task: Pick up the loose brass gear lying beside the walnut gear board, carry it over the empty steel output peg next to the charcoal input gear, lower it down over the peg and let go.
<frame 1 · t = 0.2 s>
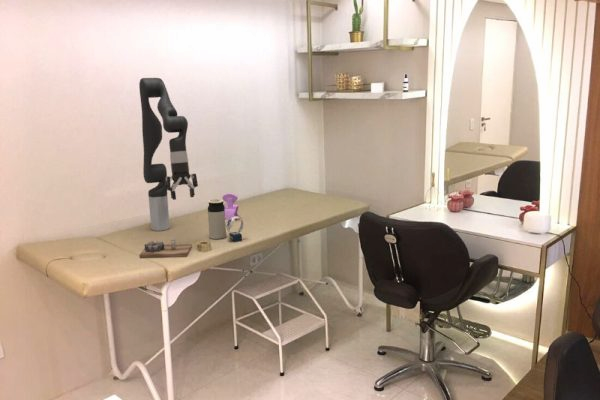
hand: (183, 198, 236), 22 cm above the table, tool pointing down, fingers open, 8 cm apart
toy chair: (231, 219, 288), on the table
watch: (235, 240, 250), on the table
brass gear: (204, 249, 237), on the table
gear board: (166, 252, 233), on the table
travel mug: (217, 237, 256), on the table
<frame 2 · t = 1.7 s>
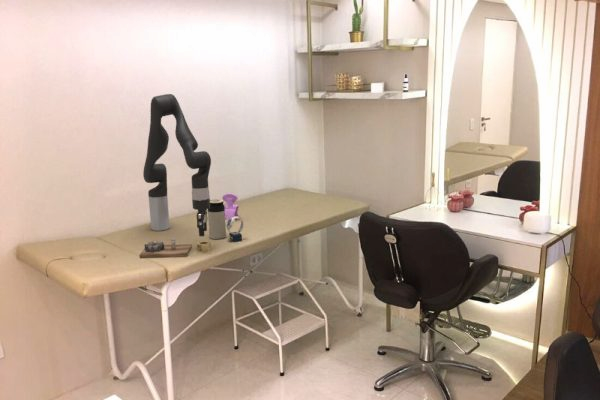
hand: (203, 233, 235), 7 cm above the table, tool pointing down, fingers open, 8 cm apart
nothing on the table moved.
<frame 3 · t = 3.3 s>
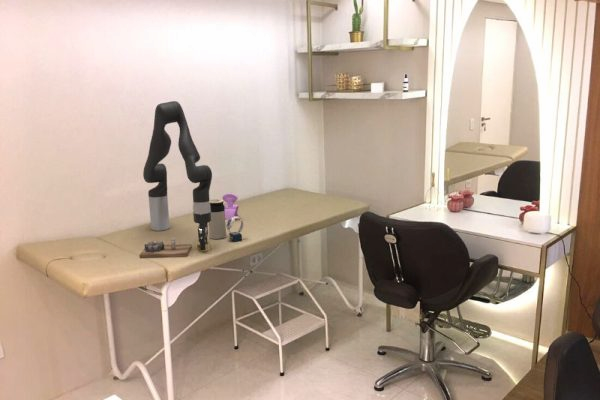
hand: (204, 247, 237), 1 cm above the table, tool pointing down, fingers closed on brass gear, 6 cm apart
brass gear: (204, 249, 237), on the table, touching gripper
everything else where it was.
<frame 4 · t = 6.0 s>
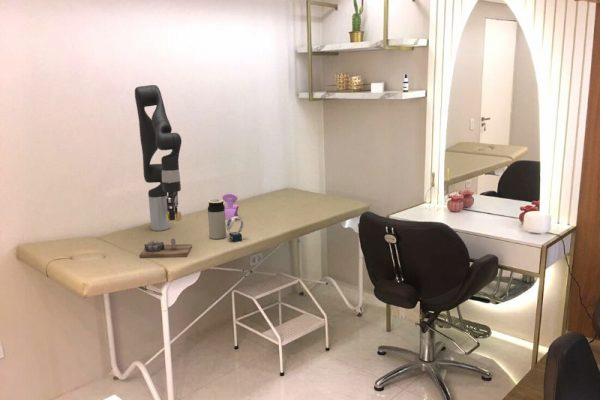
hand: (173, 217, 230), 15 cm above the table, tool pointing down, fingers closed on brass gear, 6 cm apart
brass gear: (173, 219, 231), point 15 cm above the table, touching gripper
everything else where it was.
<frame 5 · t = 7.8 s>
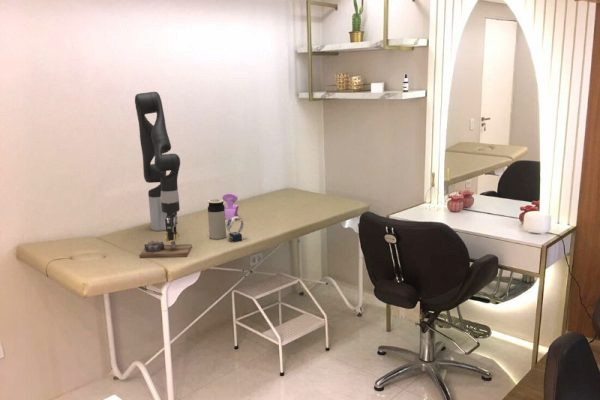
hand: (172, 237, 232), 7 cm above the table, tool pointing down, fingers closed on brass gear, 6 cm apart
brass gear: (172, 239, 232), point 6 cm above the table, touching gripper
everything else where it was.
when the fingers open (4 cm above the table, at t = 9.2 s): brass gear drops 2 cm, resting on gear board.
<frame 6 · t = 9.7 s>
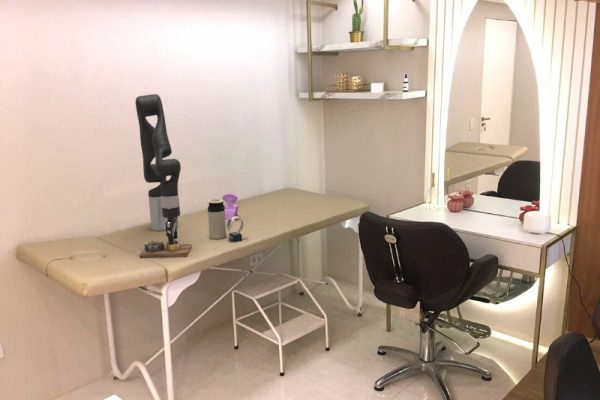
hand: (173, 241, 232), 5 cm above the table, tool pointing down, fingers open, 8 cm apart
brass gear: (173, 249, 233), point 1 cm above the table, touching gear board
everything else where it was.
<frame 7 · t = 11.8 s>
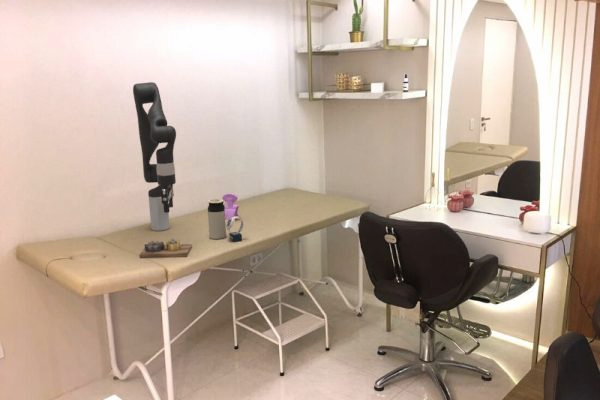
hand: (168, 209, 231), 19 cm above the table, tool pointing down, fingers open, 8 cm apart
nothing on the table moved.
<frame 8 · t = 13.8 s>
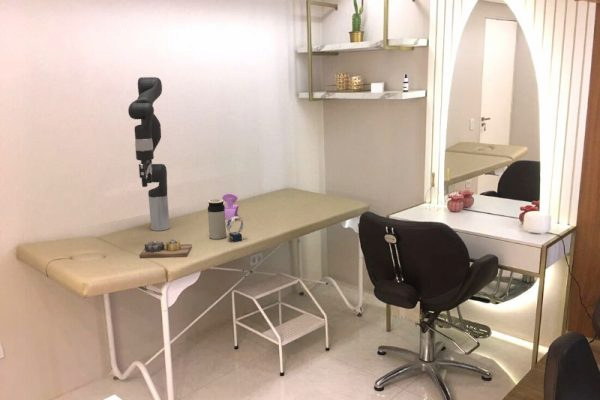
hand: (147, 184, 239), 28 cm above the table, tool pointing down, fingers open, 8 cm apart
nothing on the table moved.
at the end: brass gear 0.1 cm from the target spot on the gear board, point 1.5 cm above the gear board's base; brass gear tilted 0°; the gripper is holding nothing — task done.
